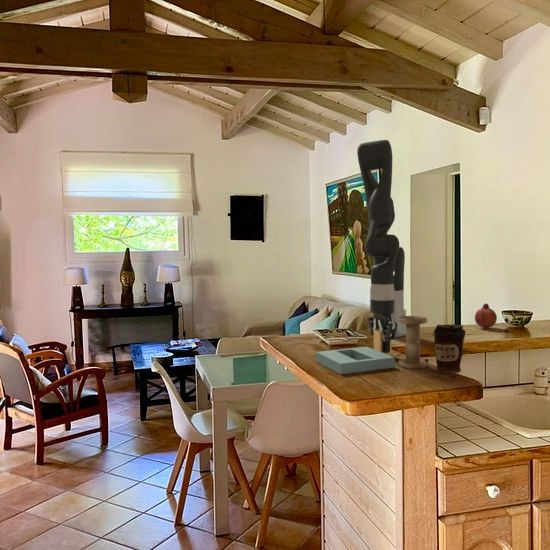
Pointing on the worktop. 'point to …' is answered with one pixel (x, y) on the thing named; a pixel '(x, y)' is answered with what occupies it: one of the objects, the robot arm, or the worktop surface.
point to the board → (354, 360)
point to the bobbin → (413, 342)
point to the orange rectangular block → (379, 341)
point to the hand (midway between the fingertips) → (382, 350)
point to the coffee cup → (449, 347)
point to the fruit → (485, 317)
